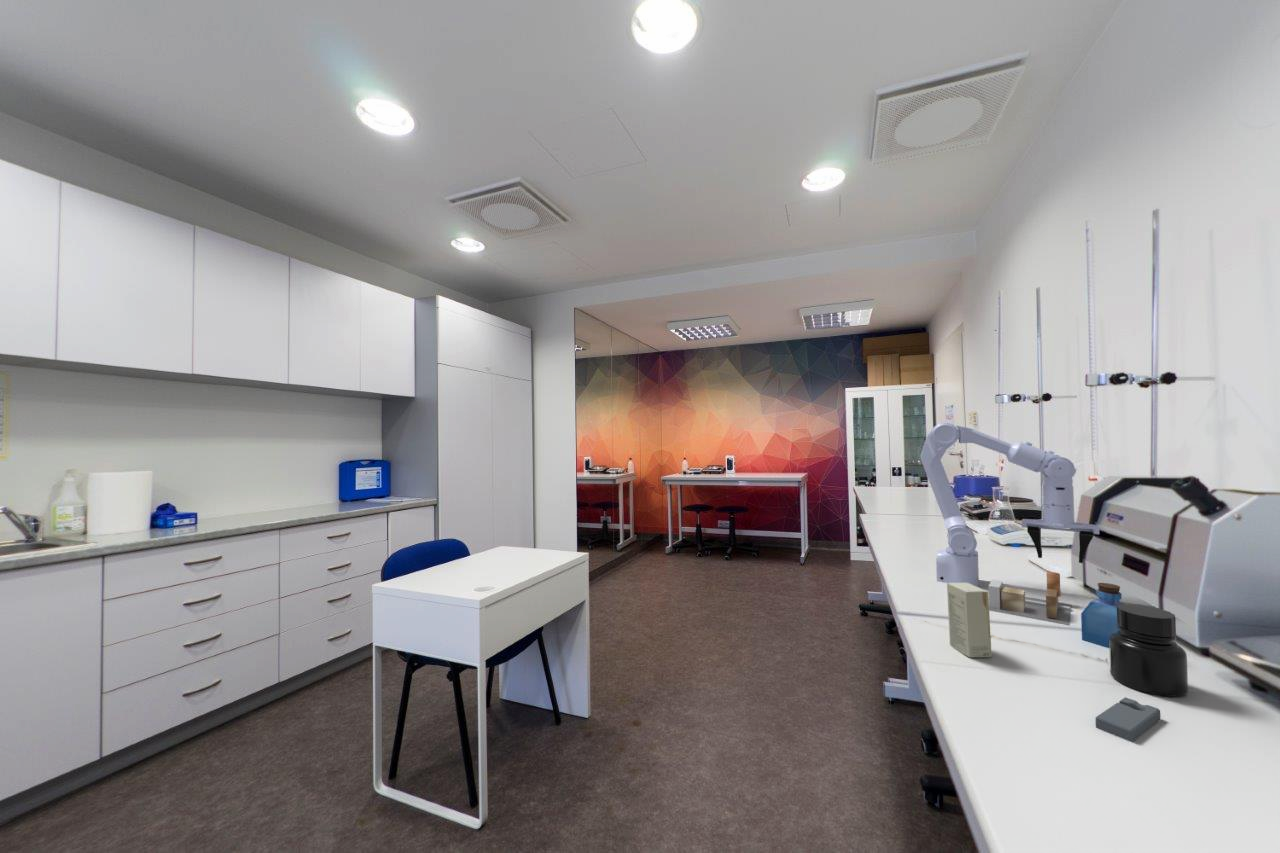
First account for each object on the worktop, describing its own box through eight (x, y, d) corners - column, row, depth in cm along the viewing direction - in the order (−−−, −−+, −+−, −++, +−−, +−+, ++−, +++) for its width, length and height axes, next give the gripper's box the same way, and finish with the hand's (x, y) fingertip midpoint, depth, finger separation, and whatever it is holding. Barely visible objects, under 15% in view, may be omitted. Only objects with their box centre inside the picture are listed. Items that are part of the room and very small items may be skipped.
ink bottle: (1154, 671, 85) (1152, 601, 85) (1208, 699, 76) (1205, 621, 76) (1093, 670, 86) (1091, 601, 86) (1139, 697, 77) (1137, 620, 77)
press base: (987, 614, 112) (987, 587, 112) (997, 596, 124) (996, 572, 124) (1069, 630, 102) (1068, 601, 102) (1071, 608, 114) (1070, 582, 114)
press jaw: (1044, 616, 107) (1043, 584, 107) (1047, 600, 116) (1046, 571, 116) (1058, 619, 105) (1057, 587, 105) (1060, 602, 115) (1060, 573, 115)
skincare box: (992, 658, 91) (990, 592, 91) (968, 658, 91) (967, 592, 91) (970, 643, 97) (968, 581, 97) (947, 643, 97) (946, 581, 97)
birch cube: (1001, 608, 112) (1001, 591, 112) (1003, 603, 115) (1003, 586, 115) (1023, 612, 110) (1023, 594, 110) (1025, 607, 113) (1024, 590, 113)
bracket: (1094, 730, 70) (1094, 716, 70) (1124, 709, 75) (1124, 696, 75) (1132, 745, 66) (1132, 731, 66) (1161, 722, 71) (1160, 708, 71)
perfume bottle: (1082, 645, 95) (1080, 583, 95) (1098, 639, 98) (1096, 578, 98) (1124, 658, 90) (1121, 592, 90) (1140, 651, 92) (1138, 587, 92)
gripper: (1020, 504, 124) (1021, 558, 123) (1098, 509, 114) (1100, 568, 114) (1022, 500, 129) (1024, 552, 129) (1098, 505, 119) (1100, 561, 119)
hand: (1060, 559), depth 122 cm, fingers open, 7 cm apart
